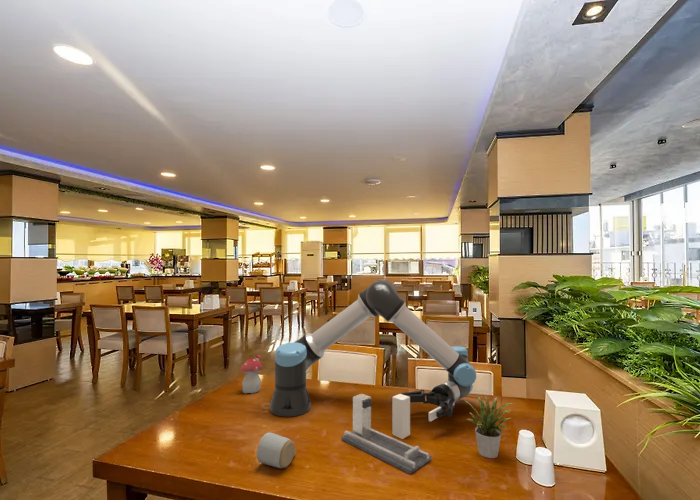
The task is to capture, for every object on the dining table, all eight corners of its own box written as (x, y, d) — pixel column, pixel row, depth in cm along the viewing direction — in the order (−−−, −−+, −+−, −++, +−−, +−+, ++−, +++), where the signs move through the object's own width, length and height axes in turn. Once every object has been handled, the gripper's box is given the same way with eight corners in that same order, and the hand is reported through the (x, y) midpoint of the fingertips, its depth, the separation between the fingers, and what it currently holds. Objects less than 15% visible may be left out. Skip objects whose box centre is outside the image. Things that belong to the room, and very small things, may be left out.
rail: (341, 439, 113) (341, 397, 114) (363, 429, 120) (363, 389, 121) (410, 474, 95) (410, 423, 95) (431, 459, 102) (431, 412, 102)
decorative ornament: (261, 387, 160) (261, 353, 161) (263, 392, 154) (264, 356, 155) (239, 390, 157) (239, 355, 157) (240, 395, 151) (241, 358, 151)
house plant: (531, 459, 102) (530, 400, 103) (499, 474, 95) (498, 410, 96) (488, 438, 114) (487, 385, 115) (457, 450, 107) (456, 393, 108)
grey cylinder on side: (281, 475, 95) (281, 444, 95) (255, 467, 98) (256, 438, 98) (302, 456, 104) (302, 428, 105) (278, 450, 108) (279, 423, 108)
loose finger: (390, 434, 117) (390, 396, 118) (398, 430, 120) (398, 393, 121) (402, 439, 114) (402, 400, 114) (410, 434, 117) (410, 396, 117)
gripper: (477, 414, 126) (445, 435, 111) (416, 395, 144) (382, 411, 129) (477, 392, 127) (445, 410, 111) (416, 376, 144) (382, 389, 129)
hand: (411, 410), depth 120 cm, fingers open, 13 cm apart
